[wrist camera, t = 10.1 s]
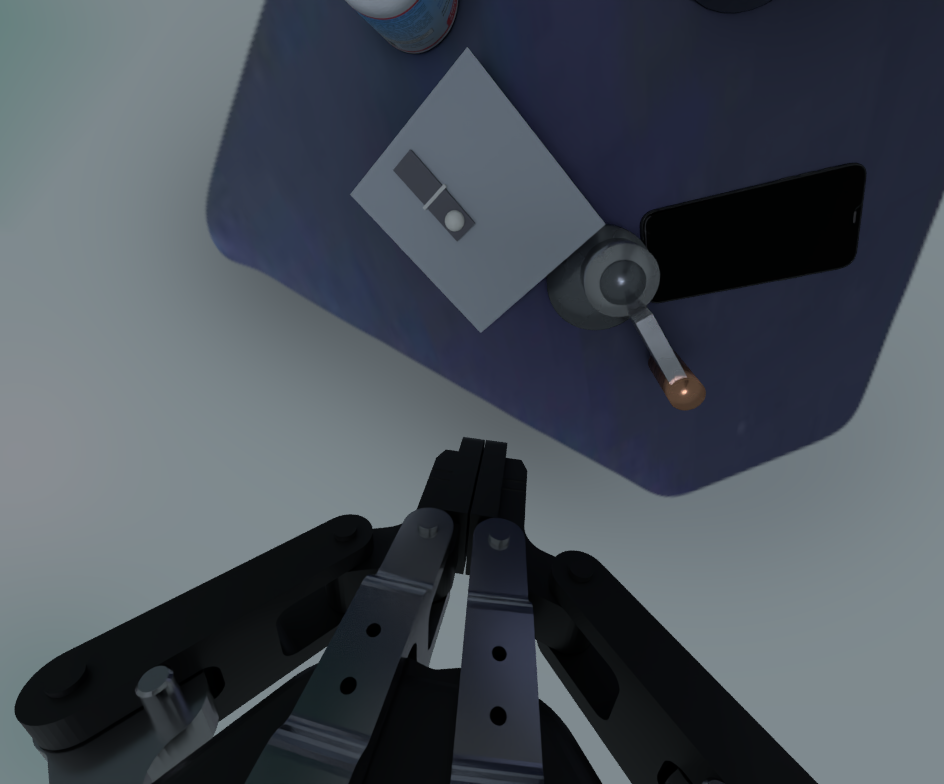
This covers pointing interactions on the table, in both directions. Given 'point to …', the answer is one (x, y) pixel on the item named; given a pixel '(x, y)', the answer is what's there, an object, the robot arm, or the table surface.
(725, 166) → the table surface
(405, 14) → the pill bottle
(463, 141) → the slide switch panel
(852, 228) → the smartphone
